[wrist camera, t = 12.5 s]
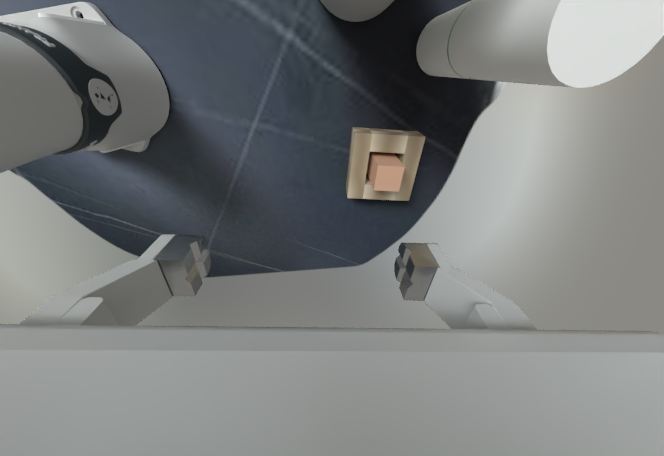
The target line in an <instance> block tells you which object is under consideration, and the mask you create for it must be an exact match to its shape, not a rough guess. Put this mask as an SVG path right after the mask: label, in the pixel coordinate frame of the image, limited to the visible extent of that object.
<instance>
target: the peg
mask: <svg viewBox="0 0 664 456" xmlns="http://www.w3.org/2000/svg"><path fill="white" fill-rule="evenodd" d="M404 168H405V166H404V165H403V164H402V163H401V161H400V160H399V159H398V158H397V156H396V155H395V154H394V153H386V152H370V153H369V160H368V166H367V175H368V177H369V180H370V182H371V185H372V187H373V190H376V191H395V192H399V190H400V185H401V181H402V177H403V173H404Z"/></svg>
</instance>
